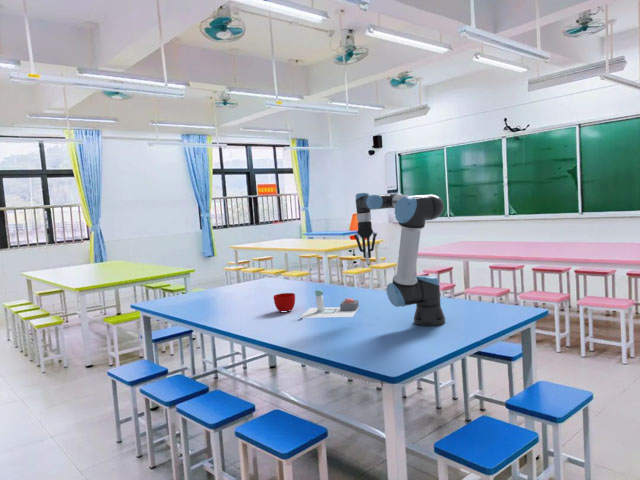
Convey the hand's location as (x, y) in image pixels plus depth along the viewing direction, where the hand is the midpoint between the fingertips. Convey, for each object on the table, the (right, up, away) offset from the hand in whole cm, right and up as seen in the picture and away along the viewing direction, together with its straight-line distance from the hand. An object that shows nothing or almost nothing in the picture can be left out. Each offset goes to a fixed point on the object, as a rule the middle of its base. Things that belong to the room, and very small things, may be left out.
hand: (367, 264), depth 254 cm
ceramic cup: (-47, -30, +26) cm, 61 cm away
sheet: (-20, -29, +8) cm, 36 cm away
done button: (-9, -25, +12) cm, 30 cm away
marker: (-26, -28, +12) cm, 40 cm away
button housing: (-9, -27, +12) cm, 31 cm away
